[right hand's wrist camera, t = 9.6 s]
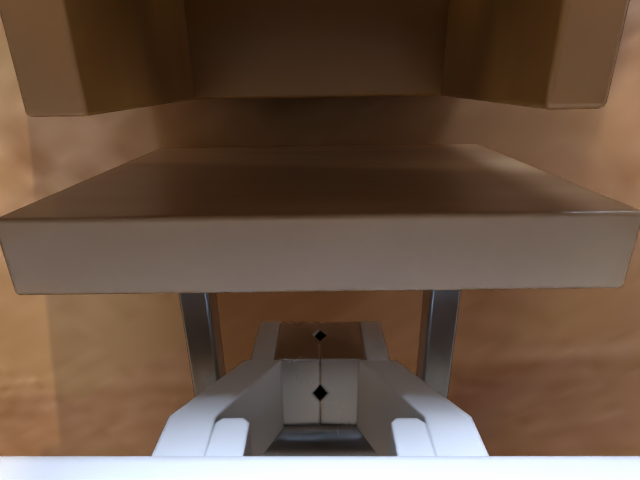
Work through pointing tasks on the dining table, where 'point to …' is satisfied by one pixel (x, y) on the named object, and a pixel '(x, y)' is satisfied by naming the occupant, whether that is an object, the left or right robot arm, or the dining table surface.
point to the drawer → (315, 162)
